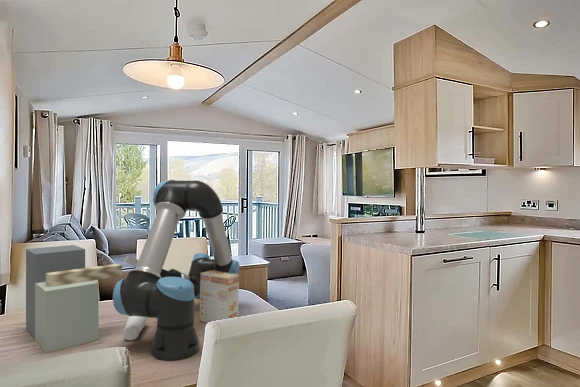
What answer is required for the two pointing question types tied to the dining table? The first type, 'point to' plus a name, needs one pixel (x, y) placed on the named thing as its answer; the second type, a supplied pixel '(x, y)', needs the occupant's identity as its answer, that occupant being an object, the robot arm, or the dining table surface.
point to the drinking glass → (134, 327)
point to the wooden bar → (83, 275)
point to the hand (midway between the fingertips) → (133, 260)
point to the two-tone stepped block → (59, 300)
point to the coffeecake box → (218, 295)
